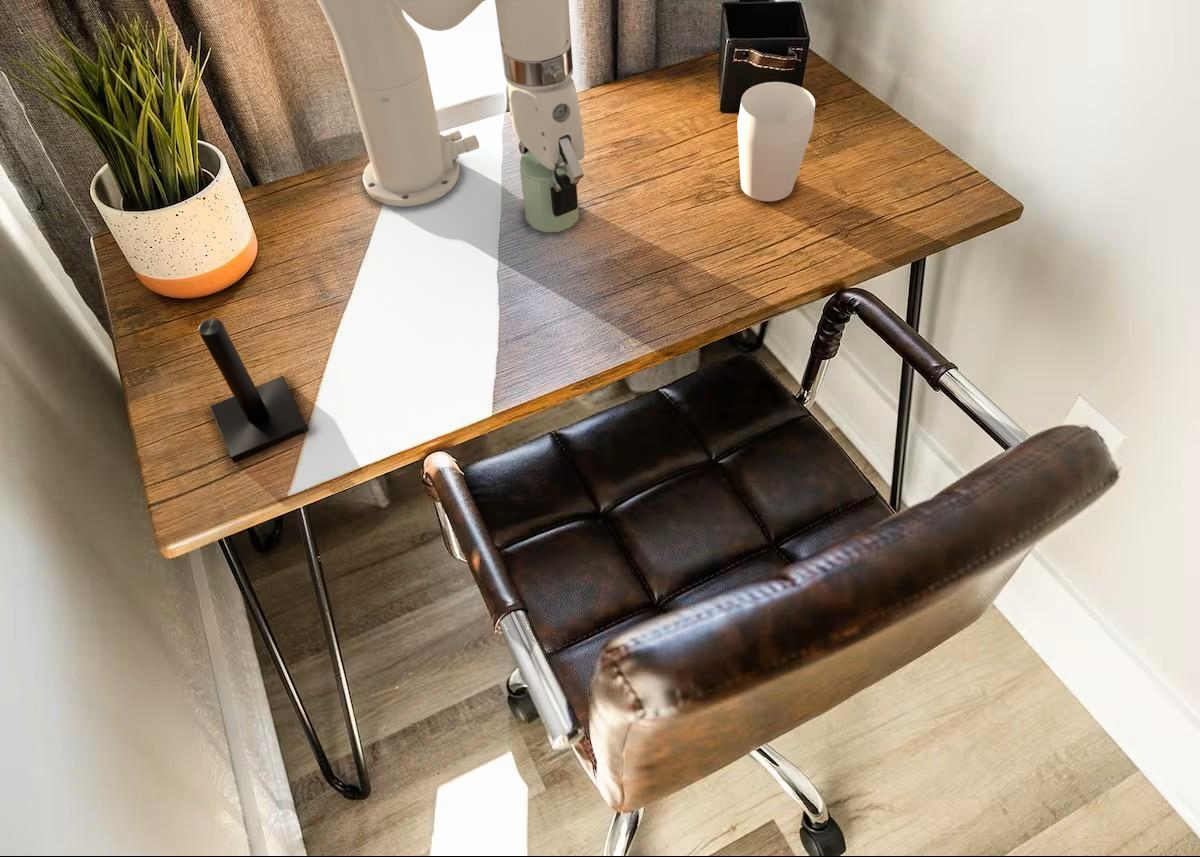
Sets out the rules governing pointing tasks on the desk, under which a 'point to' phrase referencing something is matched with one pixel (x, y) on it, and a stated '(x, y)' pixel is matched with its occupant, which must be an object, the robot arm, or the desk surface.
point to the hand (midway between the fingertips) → (550, 194)
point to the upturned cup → (542, 196)
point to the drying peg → (249, 401)
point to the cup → (773, 138)
